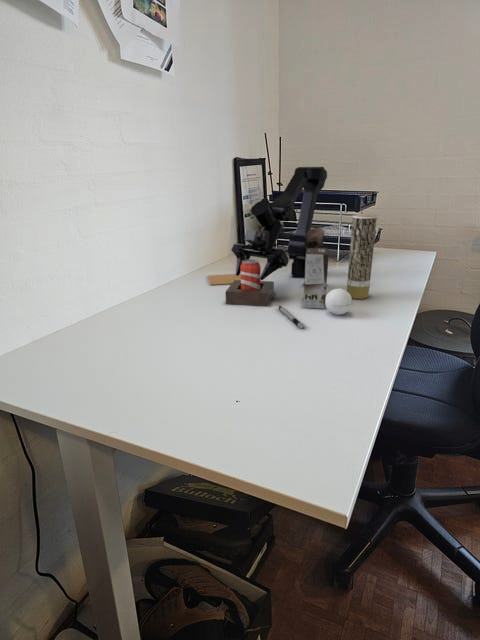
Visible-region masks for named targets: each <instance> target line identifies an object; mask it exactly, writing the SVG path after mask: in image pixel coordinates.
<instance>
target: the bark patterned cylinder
mask: <svg viewBox="0 0 480 640" xmlns="http://www.w3.org/2000/svg"><path fill="white" fill-rule="evenodd" d="M377 218H378V217H377V214H374V213H373V214H371V213H356V214H352V219H351V220H352V221H351V231H350V242H349V243H350V244H349V255H348V258H349V259H348V269H347V279H346V280H347V282H346V291H347V292H348V293H349V294H350V295H351V298H352V299H354V300H364V299H367V298H368V297H369V294H370V286H371V276H372V266H373V258H374V248H375V237H376V229H377Z"/></svg>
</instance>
